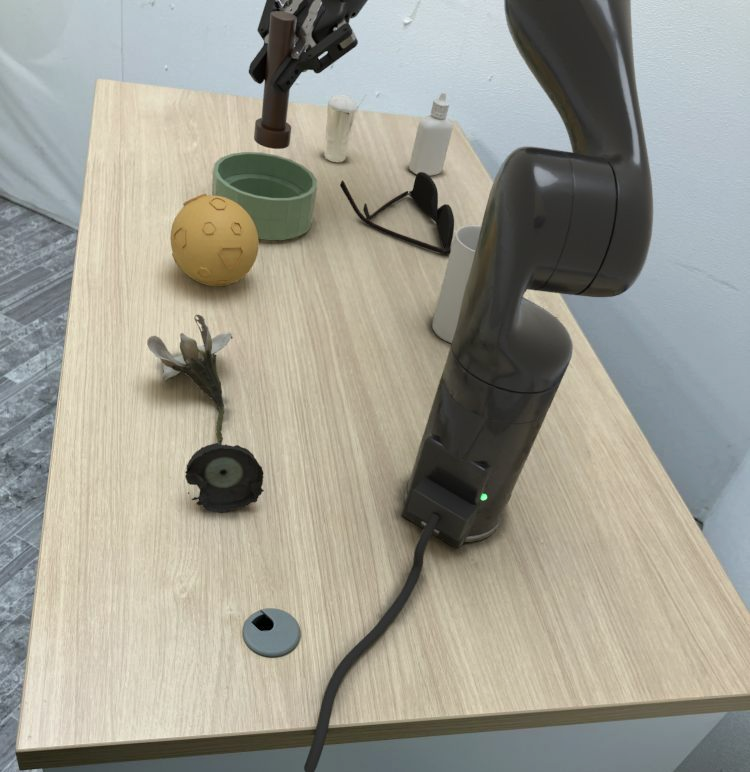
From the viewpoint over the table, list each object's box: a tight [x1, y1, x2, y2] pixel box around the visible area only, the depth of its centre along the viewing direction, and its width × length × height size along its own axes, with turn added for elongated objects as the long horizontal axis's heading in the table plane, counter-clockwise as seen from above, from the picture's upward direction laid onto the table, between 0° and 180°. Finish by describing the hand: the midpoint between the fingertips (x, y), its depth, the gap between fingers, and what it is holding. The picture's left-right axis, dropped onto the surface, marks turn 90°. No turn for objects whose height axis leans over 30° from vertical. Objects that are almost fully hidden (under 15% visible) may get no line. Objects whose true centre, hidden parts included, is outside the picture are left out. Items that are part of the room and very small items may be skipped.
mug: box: [431, 224, 482, 344], centre depth 95 cm, size 10×7×12 cm, turn 1°
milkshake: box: [323, 94, 367, 163], centre depth 122 cm, size 4×5×10 cm
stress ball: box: [169, 193, 260, 287], centre depth 92 cm, size 10×10×10 cm
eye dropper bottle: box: [408, 91, 454, 177], centre depth 125 cm, size 4×6×12 cm
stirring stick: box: [253, 11, 297, 150], centre depth 95 cm, size 4×4×14 cm
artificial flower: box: [146, 314, 264, 514], centre depth 75 cm, size 9×22×10 cm, turn 11°
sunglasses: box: [339, 172, 455, 255], centre depth 112 cm, size 17×14×5 cm
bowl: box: [211, 151, 318, 241], centre depth 106 cm, size 13×13×6 cm
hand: (264, 83), depth 94 cm, fingers closed on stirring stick, 3 cm apart
